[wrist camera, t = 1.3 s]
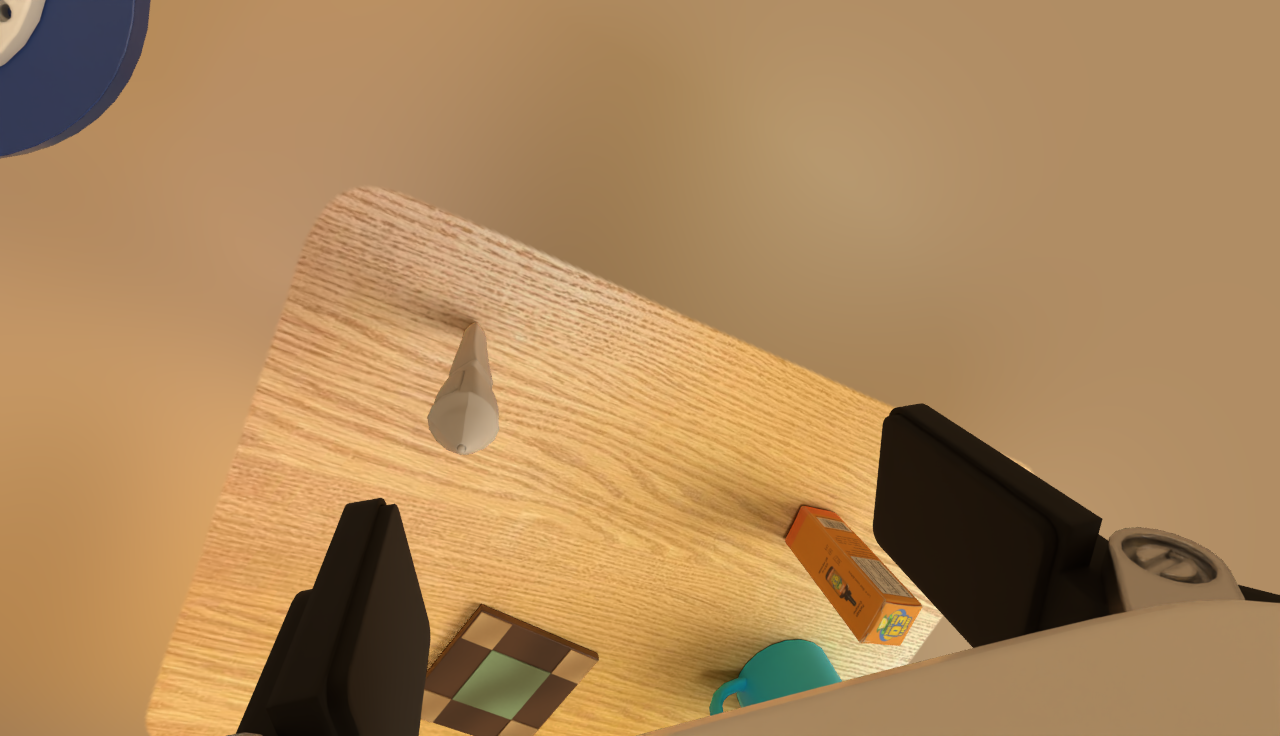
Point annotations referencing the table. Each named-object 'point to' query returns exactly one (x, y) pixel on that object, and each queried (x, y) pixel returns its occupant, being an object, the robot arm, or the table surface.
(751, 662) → the mug
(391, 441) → the table surface
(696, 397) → the table surface
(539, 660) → the board
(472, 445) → the beige tapered rod
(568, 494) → the table surface
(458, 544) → the table surface
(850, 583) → the supplement box
